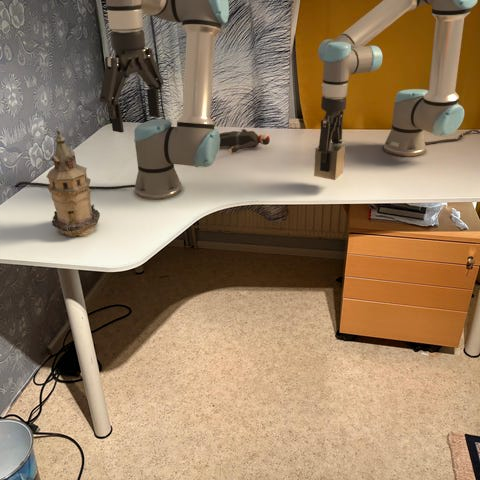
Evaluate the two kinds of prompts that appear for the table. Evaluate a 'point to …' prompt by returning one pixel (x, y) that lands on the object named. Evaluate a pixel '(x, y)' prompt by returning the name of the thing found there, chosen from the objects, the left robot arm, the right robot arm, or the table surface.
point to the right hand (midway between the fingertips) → (328, 166)
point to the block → (331, 162)
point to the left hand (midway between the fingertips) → (137, 123)
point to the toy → (242, 140)
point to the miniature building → (70, 193)
